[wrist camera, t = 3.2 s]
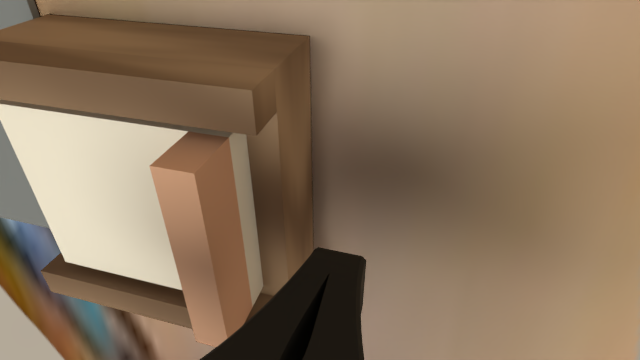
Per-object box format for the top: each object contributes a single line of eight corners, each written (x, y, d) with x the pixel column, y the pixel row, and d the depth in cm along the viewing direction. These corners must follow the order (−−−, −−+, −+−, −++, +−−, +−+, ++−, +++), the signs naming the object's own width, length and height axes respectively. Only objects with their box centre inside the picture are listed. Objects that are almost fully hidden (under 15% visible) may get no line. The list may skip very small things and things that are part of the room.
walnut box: (313, 266, 19) (277, 351, 16) (119, 225, 22) (51, 291, 18) (309, 35, 14) (251, 90, 10) (47, 14, 16) (-72, 52, 13)
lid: (263, 286, 16) (229, 350, 14) (83, 245, 18) (28, 295, 16) (244, 120, 12) (194, 173, 10) (19, 90, 14) (-65, 129, 12)
